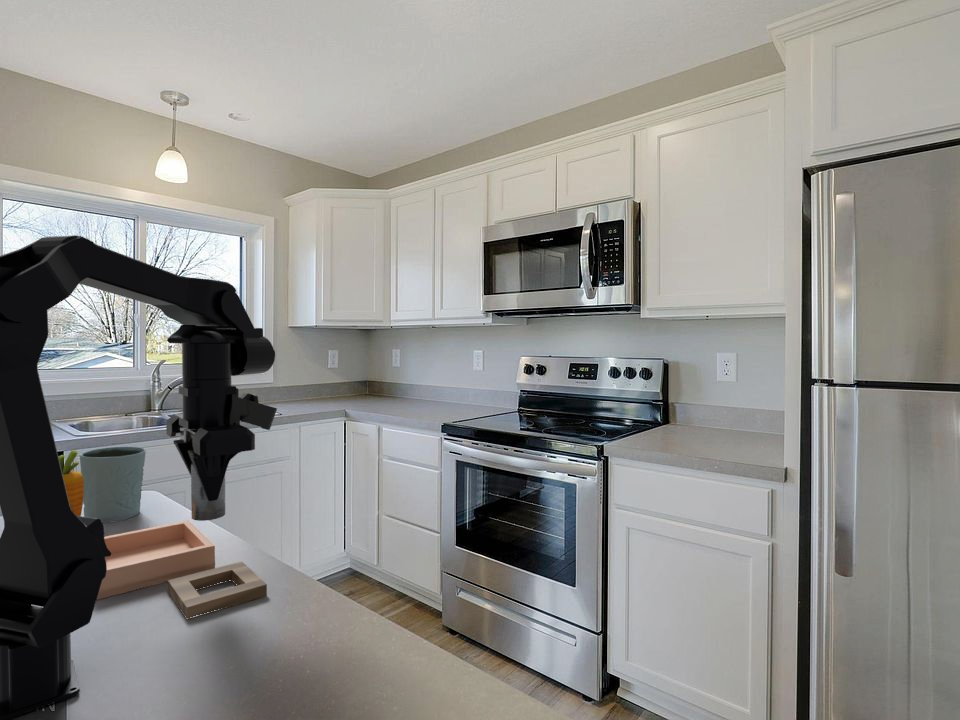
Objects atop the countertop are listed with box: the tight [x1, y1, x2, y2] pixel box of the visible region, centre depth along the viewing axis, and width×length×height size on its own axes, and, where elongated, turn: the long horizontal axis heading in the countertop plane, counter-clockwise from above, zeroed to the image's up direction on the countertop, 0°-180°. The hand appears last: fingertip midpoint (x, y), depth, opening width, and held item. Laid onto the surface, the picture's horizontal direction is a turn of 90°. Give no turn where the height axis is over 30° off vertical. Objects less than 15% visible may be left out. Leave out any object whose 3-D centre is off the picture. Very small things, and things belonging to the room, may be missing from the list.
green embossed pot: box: [79, 446, 147, 524], centre depth 101 cm, size 10×10×12 cm
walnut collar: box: [167, 561, 268, 619], centre depth 71 cm, size 9×9×2 cm
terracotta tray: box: [96, 520, 216, 601], centre depth 79 cm, size 14×14×4 cm
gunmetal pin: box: [190, 463, 226, 522], centre depth 71 cm, size 4×4×7 cm
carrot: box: [58, 449, 84, 516], centre depth 87 cm, size 5×5×15 cm
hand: (208, 496), depth 71 cm, fingers closed on gunmetal pin, 4 cm apart
